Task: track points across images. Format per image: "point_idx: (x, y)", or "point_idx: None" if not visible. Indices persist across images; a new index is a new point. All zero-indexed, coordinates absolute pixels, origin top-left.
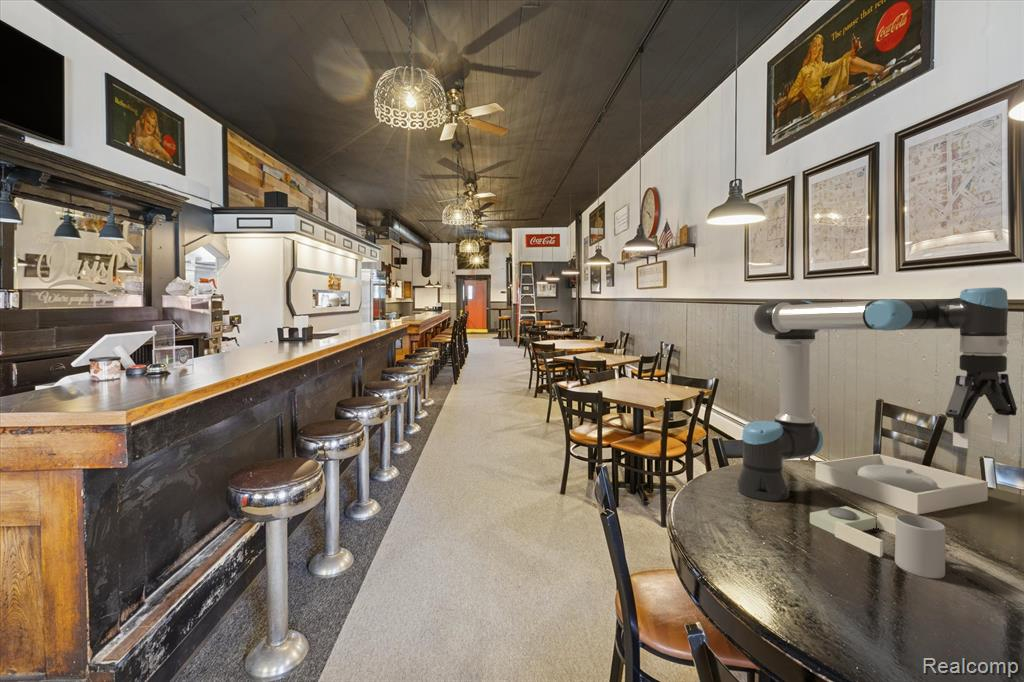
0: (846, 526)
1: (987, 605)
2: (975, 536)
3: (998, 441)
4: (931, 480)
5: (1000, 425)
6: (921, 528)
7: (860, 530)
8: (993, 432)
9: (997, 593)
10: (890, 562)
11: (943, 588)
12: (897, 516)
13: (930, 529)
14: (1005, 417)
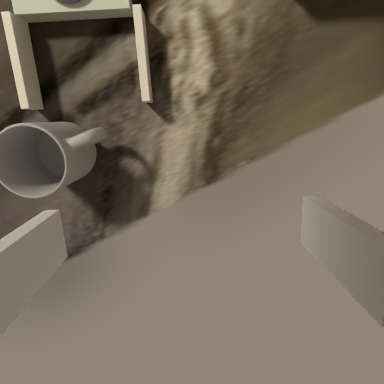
0: (7, 38)
1: (66, 235)
2: (276, 97)
3: (303, 216)
4: None
5: (340, 257)
6: (3, 184)
7: (90, 18)
8: (321, 212)
9: (108, 221)
10: None
11: (49, 197)
12: (6, 129)
13: (14, 192)
14: (375, 307)
